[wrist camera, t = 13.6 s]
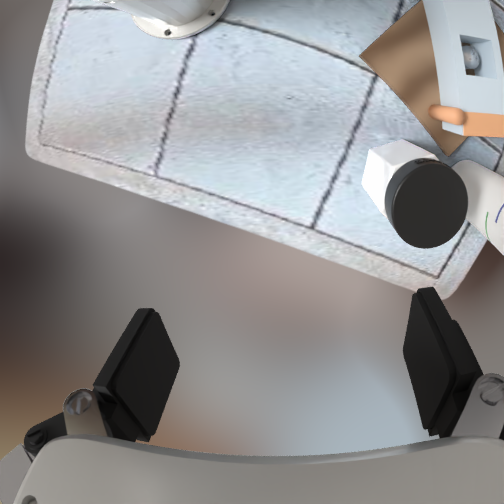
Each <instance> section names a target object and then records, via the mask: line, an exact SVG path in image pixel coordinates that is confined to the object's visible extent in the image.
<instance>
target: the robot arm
mask: <svg viewBox="0 0 504 504" xmlns="http://www.w3.org/2000/svg"><path fill="white" fill-rule="evenodd" d="M92 1H95V2H98V3H101V4H104V5H107V6H110V7H113V8H116V9H118V10H121V11H124V12H127V13H129V14H131V17H132V19H133V21H134V23H135V24H136V25H137V27H138V28H139V29H141V30H142V31H143V32H145V33H147V34H149V35H151V36H153V37H156V38H161V39H167V40H169V39H181V38H187V37H189V36H192V35H195V34H197V33H199V32H201V31H203V30H205V29H206V28H208V27H209V26H211V25H212V24H213V23H214V22H215V21H216V20H217V19H218V18H219V17H220V16H221V15H222V13H223V12H224V11H225V9H226V8H227V5H228V3H229V1H230V0H92ZM213 13H215V15H214V16H211V15H212V14H213ZM170 32H171V34H170V35H169V33H170ZM403 355H404V359H405V362H406V365H407V369H408V372H409V376H410V379H411V383H412V386H413V390H414V393H415V397H416V401H417V405H418V409H419V413H420V417H421V421H422V425H423V428H424V429H428V432H429V436H434V435H438V434H439V437H440V439H435V440H430V441H423V442H419V443H413V444H408V445H402V446H396V447H389V448H382V449H376V450H368V451H359V452H351V453H339V454H327V455H309V456H246V455H228V454H215V453H204V452H195V451H186V450H179V449H172V448H165V447H158V446H153V445H147V444H141V443H136V442H135V441H136V439H137V440H140V441H145V442H149V440H150V438H151V436H152V435H154V434H155V433H156V430H157V427H158V424H159V422H160V419H161V416H162V413H163V411H164V408H165V405H166V402H167V400H168V397H169V394H170V392H171V389H172V386H173V384H174V381H175V378H176V375H177V373H178V370H179V367H180V362H179V358H178V357H177V354H176V352H175V350H174V347H173V345H172V343H171V341H170V338H169V336H168V334H167V331H166V329H165V327H164V324H163V322H162V320H161V317H160V315H159V313H158V312H155V310H154V309H152V308H141V309H138V310H137V311H136V313H135V314H134V316H133V318H132V319H131V321H130V322H129V324H128V326H127V328H126V329H125V331H124V332H123V334H122V336H121V337H120V339H119V341H118V342H117V344H116V346H115V347H114V349H113V351H112V353H111V354H110V356H109V357H108V359H107V361H106V363H105V364H104V366H103V368H102V370H101V371H100V373H99V375H98V377H97V378H96V380H95V382H94V384H93V386H94V389H93V391H91V390H89V389H86V388H82V389H78V390H75V391H74V392H72V393H71V394H70V395H69V396H68V397H67V398H66V400H65V402H64V404H63V412H62V413H60V414H58V415H56V416H54V417H52V418H50V419H48V420H45V421H43V422H41V423H39V424H37V425H35V426H33V427H32V428H30V430H29V431H28V432H27V434H26V435H25V439H24V445H22V444H19V445H18V446H17V447H16V448H15V449H13V450H12V451H11V452H10V453H8V454H7V455H6V456H5V457H4V458H2V459H1V460H0V500H1V502H2V504H504V377H503V376H501V375H499V374H494V373H489V374H485V375H483V372H482V370H481V368H480V366H479V364H478V362H477V360H476V357H475V355H474V353H473V351H472V349H471V347H470V345H469V343H468V341H467V339H466V337H465V335H464V333H463V332H462V330H461V328H460V326H459V324H458V323H457V321H455V320H452V319H451V317H450V315H449V313H448V312H447V310H446V308H445V306H444V304H443V302H442V301H441V299H440V297H439V295H438V294H437V292H436V290H435V288H434V287H427V288H419V289H418V290H417V293H414V294H413V296H412V302H411V308H410V314H409V320H408V325H407V331H406V336H405V341H404V346H403Z"/></svg>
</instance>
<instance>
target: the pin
mask: <svg viewBox="0 0 504 504" xmlns="http://www.w3.org/2000/svg"><path fill="white" fill-rule="evenodd" d="M428 113H429V116H430V117H431V118H433V119H436V120H440V121H444V122H448V123H451V124H455V125H462V124H463V123H464V121H465V114H464V112H463V111H462V110H461V109H459V108H454V107H448V106H442V105H435V104H433V105H431V106H430V107H429V109H428Z"/></svg>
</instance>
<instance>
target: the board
mask: <svg viewBox="0 0 504 504" xmlns="http://www.w3.org/2000/svg"><path fill="white" fill-rule="evenodd" d="M494 22H495V21H494ZM495 26H496V30H497V35H498V40H499V46H500V51H501V57H502V64H503V71H504V33H503V32H502V30H501V29H500V28H499V26H498V25H497V24H496V22H495ZM461 46H470V44H469V43H463V42H461ZM359 57H360V58H361V59H362V60H363V61H364V62H365V63H366V64H367V65H368V66H369V67H370V68H371V69H372V70H373V71H374V72H375V73H376V74H377V75H378V76H379V77H380V78H381V79H382V80H383V81H384V82H385V83H386V84H387V85H388V86H389V87H390V88H391V89H392V90H393V91H394V93H395V94H396V95H397V96H398V97H399V98H400V99H401V100H402V101H403V103H404V104H405V105H406V106H407V107H408V108H409V110H410V111H411V112H412V113H413V114H414V115H415V117H416V118H417V119H418V120H419V121H420V123H421V124H422V125H423V126H424V128H425V129H426V130H427V131H428V133H429V134H430V135H431V137H432V138H433V139H434V141H435V142H436V143H437V145H438V146H439V147H440V149H441V150H442V151H443V153H444V154H445V155H446V156H448V157H449V156H450V155H451V154H452V153H453V152H454V151H455V150H456V149H457V148H458V146H459V145H460V144H461V143H462V142H463V141H464V140H465V139H466V138H467V137H468V136H463V135H459V134H456V133H453V132H450V131H447V130H444V129H443V128H442V121H440V120H436V119H433V118H431V117H430V116H429V113H428V109H429V107H430V106H431V105H433V104H435V105H441V102H440V92H439V83H438V76H437V69H436V62H435V56H434V50H433V45H432V39H431V34H430V30H429V25H428V21H427V16H426V12H425V8H424V4H423V0H420V1H419V2H418V3H417V4H416V5H415V6H413V7H412V8H411V9H410V10H409V11H408V12H406V13H405V14H404V15H403V16H402V17H401V18H400V19H399V20H397V21H396V22H395V23H394V24H393V25H392V26H391V27H390V28H388V29H387V30H386V31H385V32H384V33H383V34H382V35H381V36H380V37H379V38H378V39H376V40H375V41H374V42H373V43H372V44H371V45H370V46H369V47H368V48H367V49H366V50H365V51H364V52H362V53H361V54H360V55H359ZM465 71H466V75H472V76H475V71H474V69H465Z"/></svg>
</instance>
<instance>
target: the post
mask: <svg viewBox="0 0 504 504" xmlns="http://www.w3.org/2000/svg"><path fill="white" fill-rule="evenodd" d="M462 51H463V57H464V64H465V69H475V68H477V67H478V65H479V56H478V53H477V52H476V50H475V49H474V48H472V47H471V46H462Z"/></svg>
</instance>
